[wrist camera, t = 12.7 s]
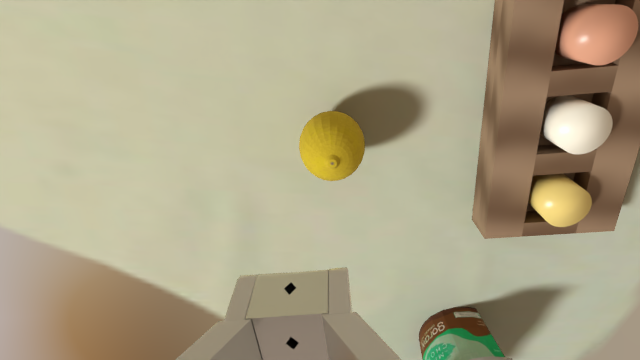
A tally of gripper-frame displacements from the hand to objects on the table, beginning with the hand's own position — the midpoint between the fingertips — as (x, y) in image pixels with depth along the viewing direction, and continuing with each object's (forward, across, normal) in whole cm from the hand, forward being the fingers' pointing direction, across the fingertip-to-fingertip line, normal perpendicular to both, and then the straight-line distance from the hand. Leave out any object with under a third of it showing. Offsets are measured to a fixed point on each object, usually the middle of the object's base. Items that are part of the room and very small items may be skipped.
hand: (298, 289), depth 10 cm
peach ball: (+24, -21, -2) cm, 32 cm away
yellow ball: (+24, -21, +12) cm, 33 cm away
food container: (+25, -11, +31) cm, 42 cm away
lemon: (+26, -1, +4) cm, 26 cm away
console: (+25, -21, +5) cm, 33 cm away
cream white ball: (+24, -21, +5) cm, 32 cm away
